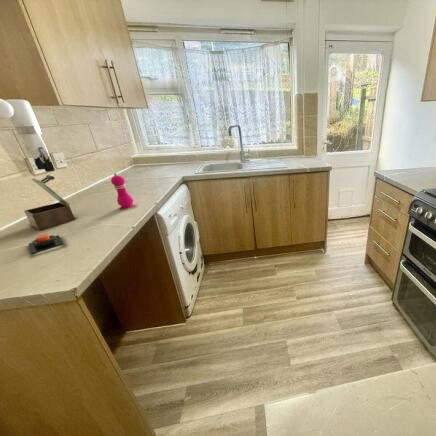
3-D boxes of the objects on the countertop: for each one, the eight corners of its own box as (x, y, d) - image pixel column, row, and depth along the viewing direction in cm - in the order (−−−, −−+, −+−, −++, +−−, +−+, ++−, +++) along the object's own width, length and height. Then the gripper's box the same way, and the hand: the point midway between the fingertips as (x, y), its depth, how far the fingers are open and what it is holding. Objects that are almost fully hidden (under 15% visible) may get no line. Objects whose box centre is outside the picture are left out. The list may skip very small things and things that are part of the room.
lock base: (65, 248, 95) (61, 239, 94) (33, 258, 89) (28, 248, 87) (60, 239, 102) (56, 231, 100) (31, 248, 96) (26, 239, 94)
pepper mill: (121, 207, 136) (108, 172, 127) (136, 205, 138) (124, 170, 130) (119, 212, 130) (105, 175, 121) (134, 209, 132) (122, 173, 124)
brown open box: (39, 230, 110) (32, 215, 107) (31, 225, 116) (23, 210, 113) (75, 220, 121) (69, 205, 118) (66, 215, 126) (60, 201, 123)
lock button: (51, 239, 94) (49, 235, 93) (38, 243, 92) (36, 239, 91) (49, 237, 96) (47, 233, 96) (37, 240, 94) (35, 236, 93)
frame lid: (40, 182, 108) (52, 174, 111) (31, 179, 113) (44, 172, 116) (68, 205, 117) (79, 197, 120) (59, 201, 123) (69, 194, 126)
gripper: (11, 131, 107) (29, 170, 114) (23, 132, 99) (42, 173, 106) (34, 130, 113) (50, 166, 120) (47, 130, 104) (64, 170, 111)
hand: (46, 170), depth 113 cm, fingers open, 9 cm apart
